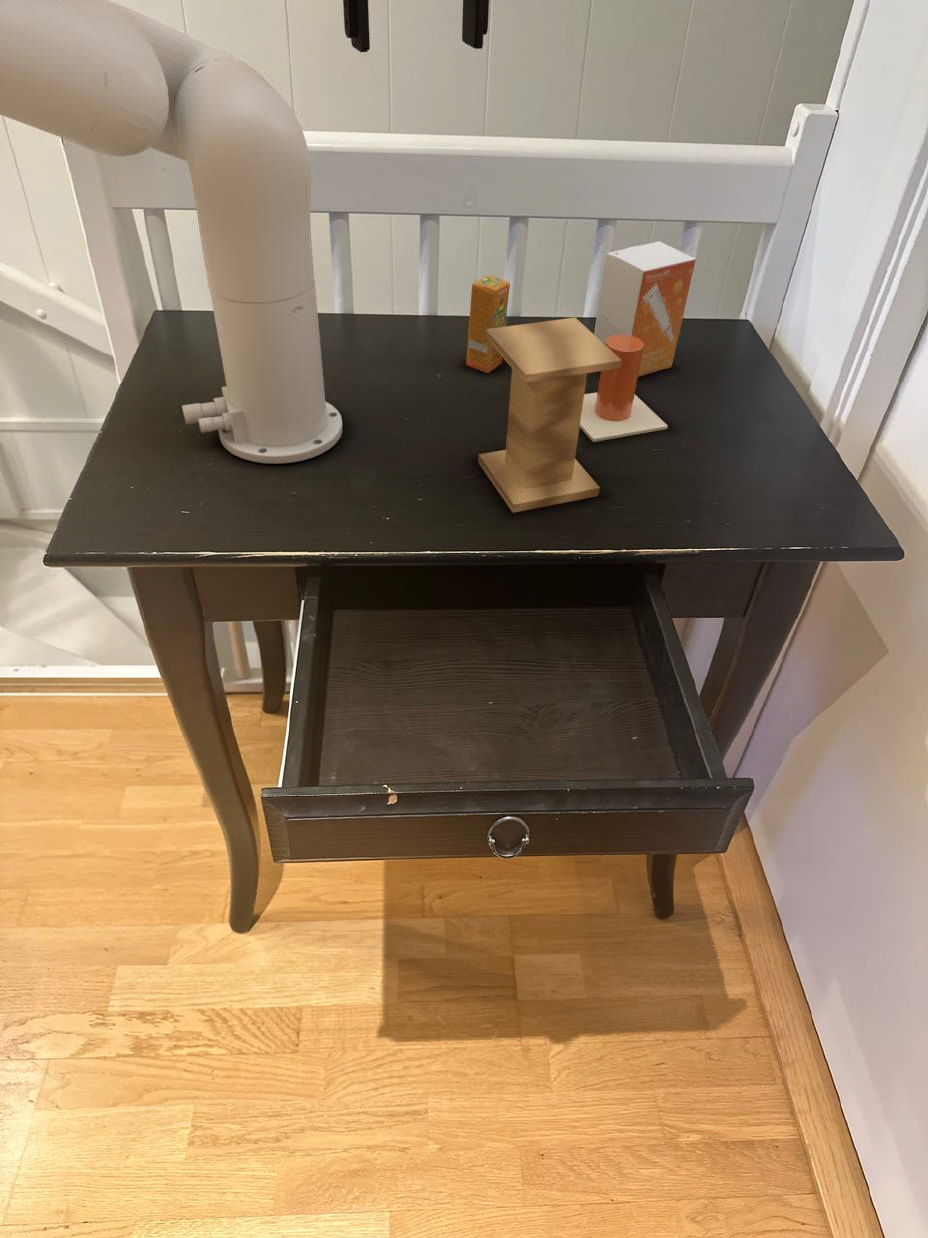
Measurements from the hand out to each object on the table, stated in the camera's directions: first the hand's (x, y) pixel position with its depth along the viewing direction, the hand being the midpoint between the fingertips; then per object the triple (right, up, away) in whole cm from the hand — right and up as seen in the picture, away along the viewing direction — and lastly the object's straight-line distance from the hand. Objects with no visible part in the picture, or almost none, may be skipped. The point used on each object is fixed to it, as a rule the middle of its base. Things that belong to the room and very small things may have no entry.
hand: (417, 47), depth 69 cm
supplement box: (+6, -17, +31) cm, 36 cm away
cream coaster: (+20, -24, +24) cm, 39 cm away
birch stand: (+11, -33, +14) cm, 38 cm away
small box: (+24, -16, +33) cm, 44 cm away
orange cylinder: (+20, -24, +23) cm, 39 cm away
